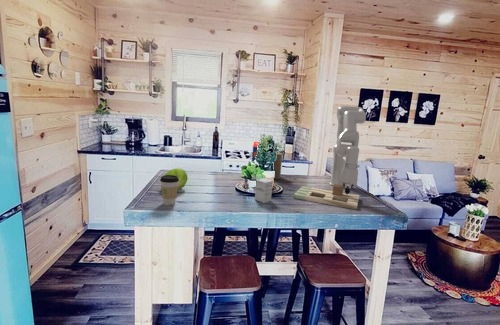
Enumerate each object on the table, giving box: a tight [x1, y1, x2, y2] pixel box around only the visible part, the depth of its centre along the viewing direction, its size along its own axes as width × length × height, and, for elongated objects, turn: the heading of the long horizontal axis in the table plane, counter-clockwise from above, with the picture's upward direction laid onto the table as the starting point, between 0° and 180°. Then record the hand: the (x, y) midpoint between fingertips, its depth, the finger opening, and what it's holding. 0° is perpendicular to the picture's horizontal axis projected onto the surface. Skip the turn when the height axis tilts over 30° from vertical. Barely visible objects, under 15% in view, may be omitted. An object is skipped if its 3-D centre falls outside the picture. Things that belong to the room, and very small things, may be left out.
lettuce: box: [164, 168, 189, 190], centre depth 190 cm, size 15×20×14 cm
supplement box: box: [254, 177, 274, 204], centre depth 180 cm, size 7×7×13 cm
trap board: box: [293, 185, 360, 210], centre depth 194 cm, size 24×38×2 cm, turn 67°
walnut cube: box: [332, 184, 345, 196], centre depth 196 cm, size 6×6×6 cm
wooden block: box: [274, 151, 283, 180], centre depth 239 cm, size 10×10×20 cm
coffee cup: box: [159, 174, 179, 206], centre depth 164 cm, size 10×10×15 cm
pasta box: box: [251, 141, 260, 162], centre depth 223 cm, size 28×8×28 cm, turn 178°
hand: (347, 193), depth 195 cm, fingers closed
